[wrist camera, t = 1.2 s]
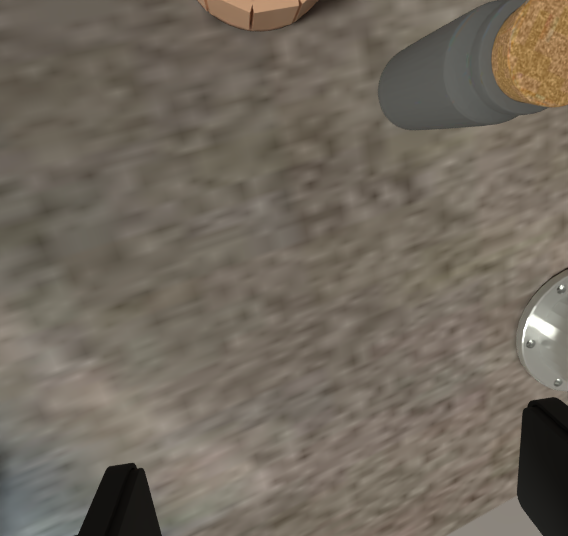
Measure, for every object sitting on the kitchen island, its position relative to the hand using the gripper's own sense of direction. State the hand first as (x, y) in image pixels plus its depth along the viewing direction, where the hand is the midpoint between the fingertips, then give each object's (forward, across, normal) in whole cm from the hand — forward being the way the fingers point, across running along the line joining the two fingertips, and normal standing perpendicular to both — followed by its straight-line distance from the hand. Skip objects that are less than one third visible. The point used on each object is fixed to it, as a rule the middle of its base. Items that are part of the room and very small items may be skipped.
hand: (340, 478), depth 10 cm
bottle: (+25, -12, -10) cm, 29 cm away
